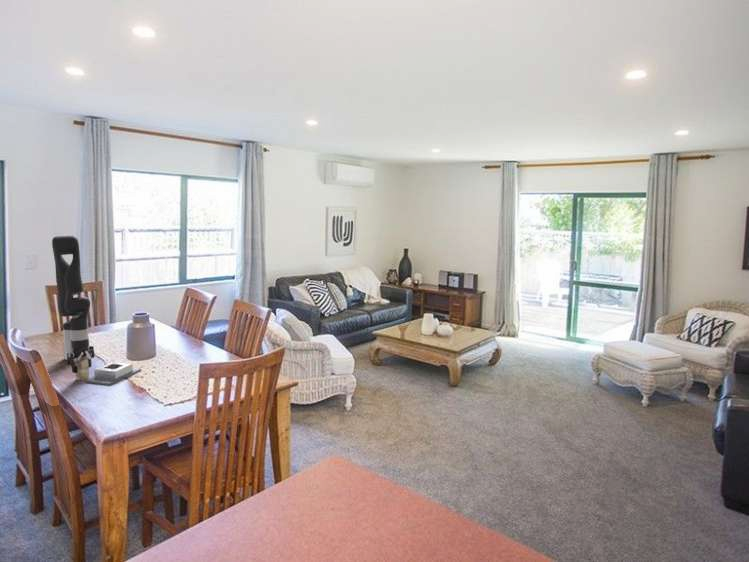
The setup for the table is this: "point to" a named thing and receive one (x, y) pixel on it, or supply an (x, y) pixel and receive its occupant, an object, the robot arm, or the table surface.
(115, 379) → the square peg board
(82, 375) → the wooden square peg
